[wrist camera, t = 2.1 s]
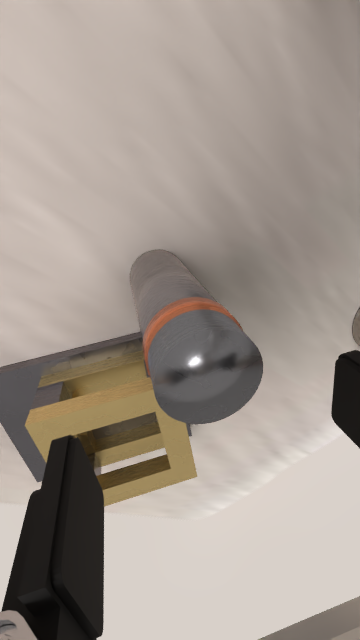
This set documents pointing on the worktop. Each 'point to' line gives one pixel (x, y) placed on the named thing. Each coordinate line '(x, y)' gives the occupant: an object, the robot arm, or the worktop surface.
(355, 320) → the thermos bottle
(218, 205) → the worktop surface
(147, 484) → the tan frame fixture
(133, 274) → the tube
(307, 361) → the worktop surface
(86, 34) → the worktop surface
